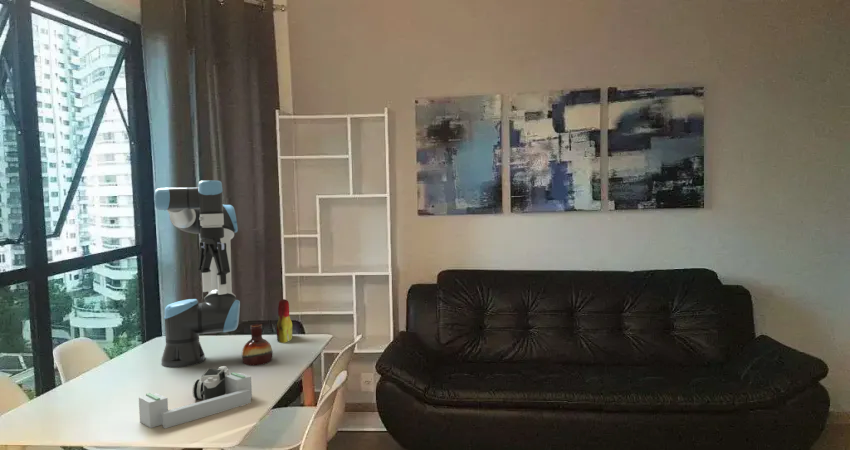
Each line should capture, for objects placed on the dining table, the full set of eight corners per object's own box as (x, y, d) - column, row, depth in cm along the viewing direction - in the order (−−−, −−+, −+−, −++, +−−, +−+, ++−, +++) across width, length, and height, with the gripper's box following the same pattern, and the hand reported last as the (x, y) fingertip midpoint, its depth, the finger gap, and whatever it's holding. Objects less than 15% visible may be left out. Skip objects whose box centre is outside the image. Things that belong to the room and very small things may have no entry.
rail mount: (139, 422, 169) (138, 395, 169) (240, 394, 192) (239, 370, 191) (155, 431, 162) (154, 403, 162) (258, 401, 185) (257, 376, 184)
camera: (206, 390, 197) (205, 360, 196) (233, 390, 197) (232, 359, 196) (188, 407, 181) (187, 374, 180) (217, 406, 181) (216, 373, 180)
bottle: (289, 349, 248) (287, 301, 247) (273, 350, 248) (272, 301, 247) (295, 342, 260) (293, 296, 259) (280, 343, 260) (278, 297, 259)
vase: (245, 372, 217) (243, 329, 216) (239, 364, 227) (238, 324, 226) (276, 367, 222) (274, 325, 221) (269, 360, 232) (267, 320, 231)
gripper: (185, 226, 207) (188, 291, 208) (218, 227, 192) (220, 297, 193) (206, 225, 213) (209, 288, 214) (239, 226, 197) (242, 294, 198)
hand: (214, 292), depth 203 cm, fingers open, 10 cm apart
